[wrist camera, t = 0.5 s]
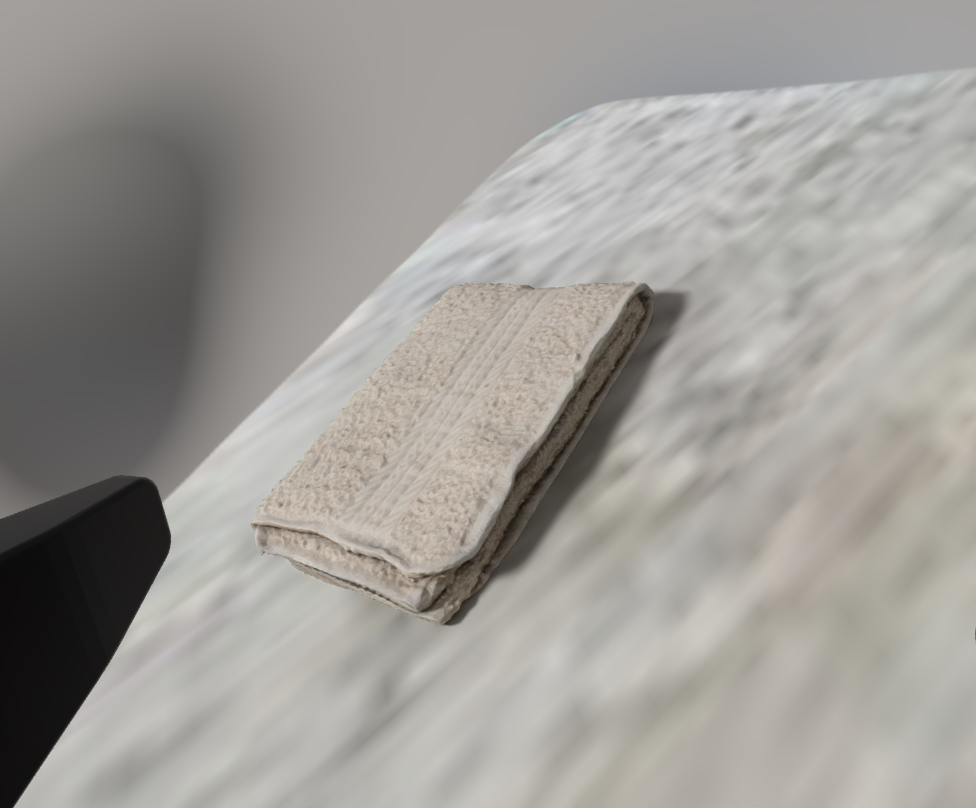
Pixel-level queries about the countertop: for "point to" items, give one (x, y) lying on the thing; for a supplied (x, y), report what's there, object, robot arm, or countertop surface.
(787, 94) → the countertop surface
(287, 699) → the countertop surface
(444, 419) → the washcloth
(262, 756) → the countertop surface
